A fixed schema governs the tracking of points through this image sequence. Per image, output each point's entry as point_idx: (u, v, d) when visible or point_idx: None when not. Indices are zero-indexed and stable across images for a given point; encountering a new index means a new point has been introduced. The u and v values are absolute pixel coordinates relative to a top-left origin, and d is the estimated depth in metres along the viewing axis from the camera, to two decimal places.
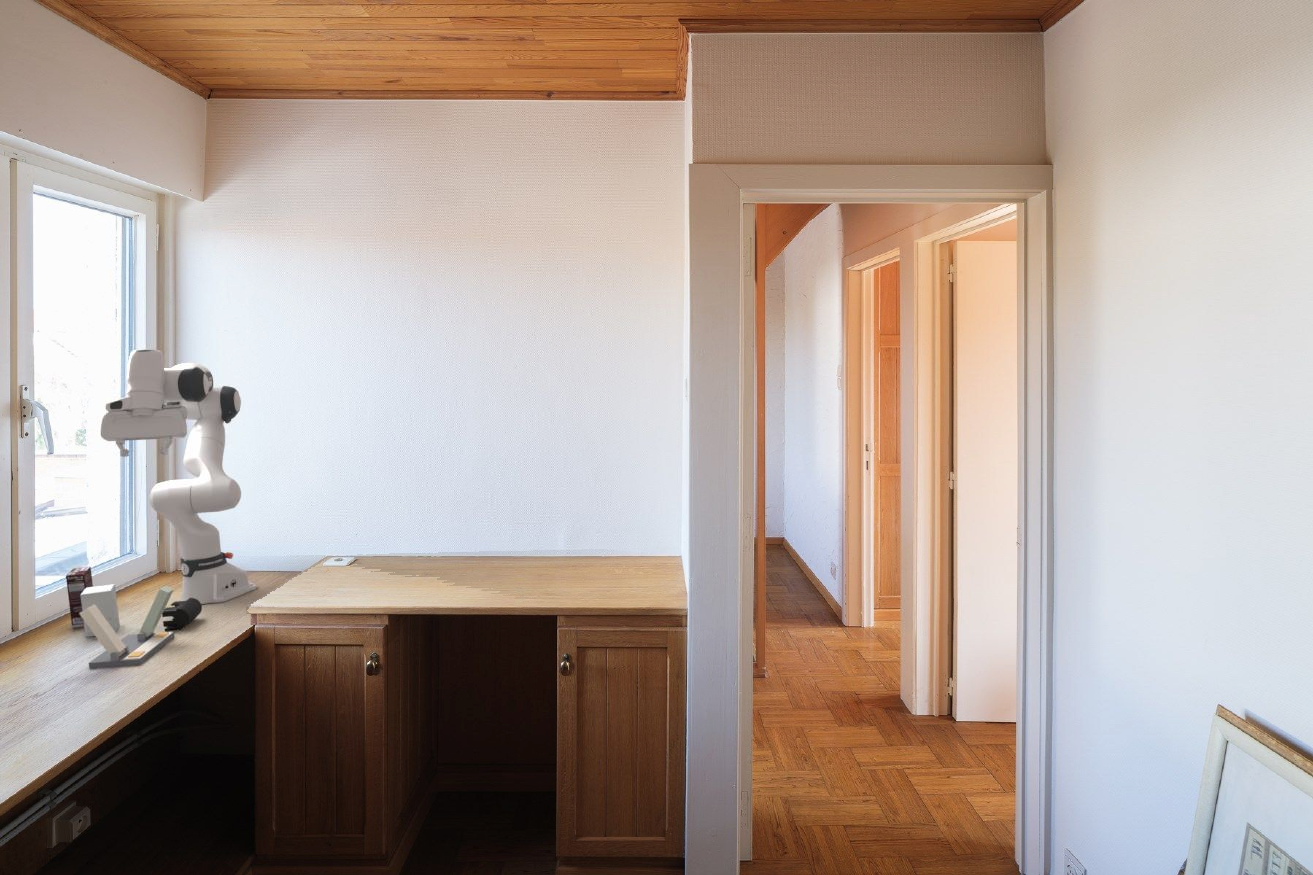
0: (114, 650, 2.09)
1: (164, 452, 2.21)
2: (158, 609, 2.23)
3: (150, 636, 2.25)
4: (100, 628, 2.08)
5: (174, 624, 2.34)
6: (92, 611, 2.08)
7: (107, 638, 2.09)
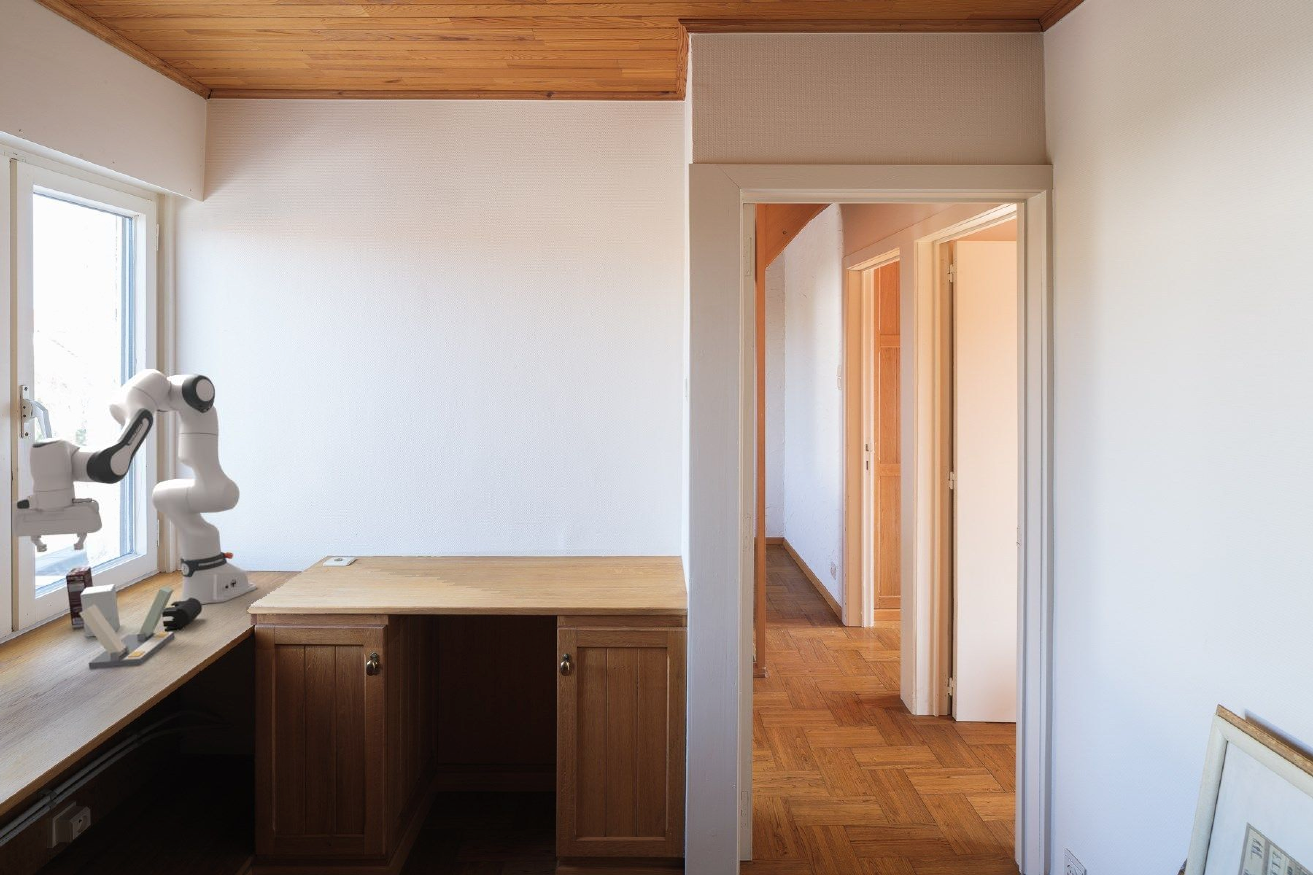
0: (114, 650, 2.09)
1: (79, 548, 2.18)
2: (158, 609, 2.23)
3: (150, 636, 2.25)
4: (100, 628, 2.08)
5: (174, 624, 2.34)
6: (92, 611, 2.08)
7: (107, 638, 2.09)
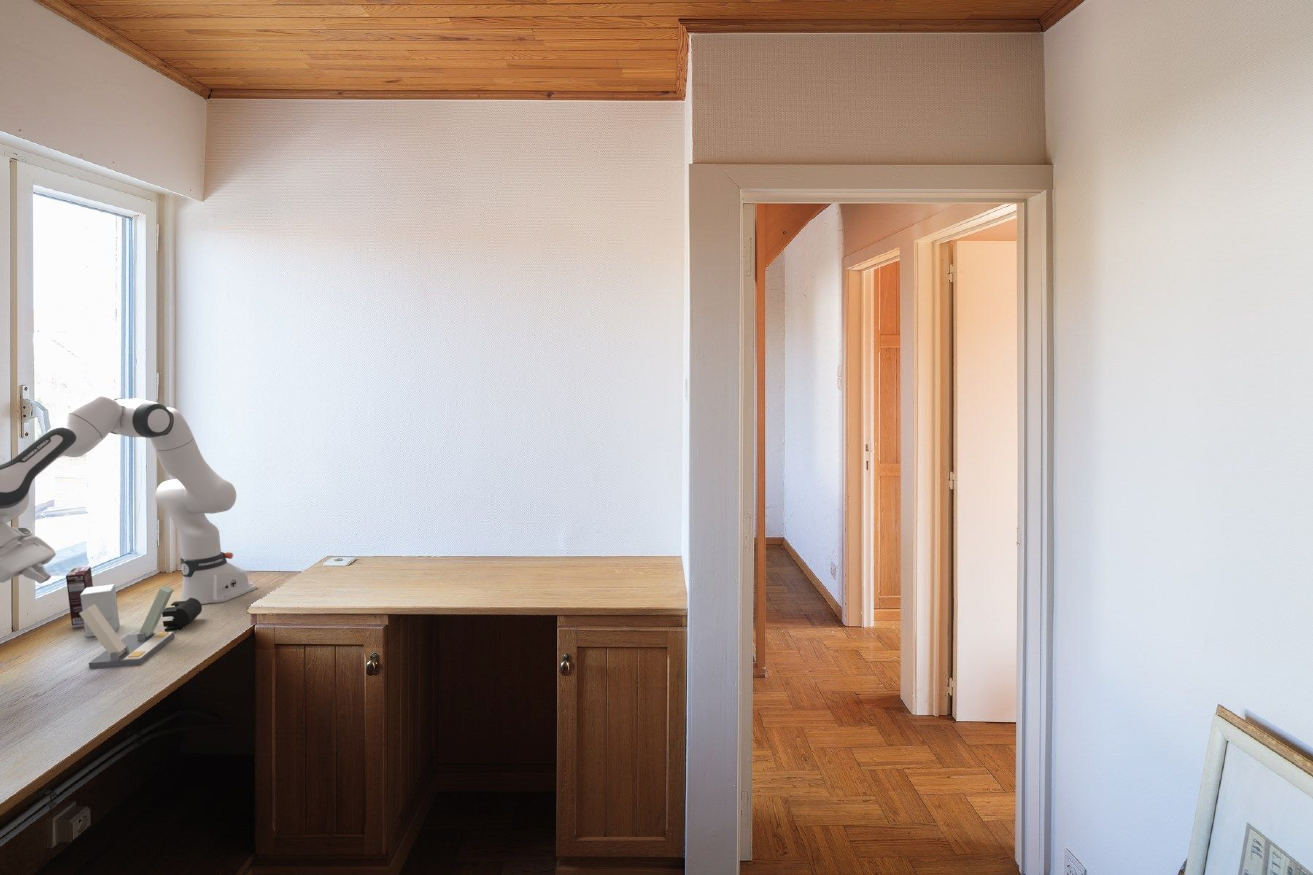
0: (114, 650, 2.09)
1: (40, 582, 2.05)
2: (158, 609, 2.23)
3: (150, 636, 2.25)
4: (100, 628, 2.08)
5: (174, 624, 2.34)
6: (92, 611, 2.08)
7: (107, 638, 2.09)
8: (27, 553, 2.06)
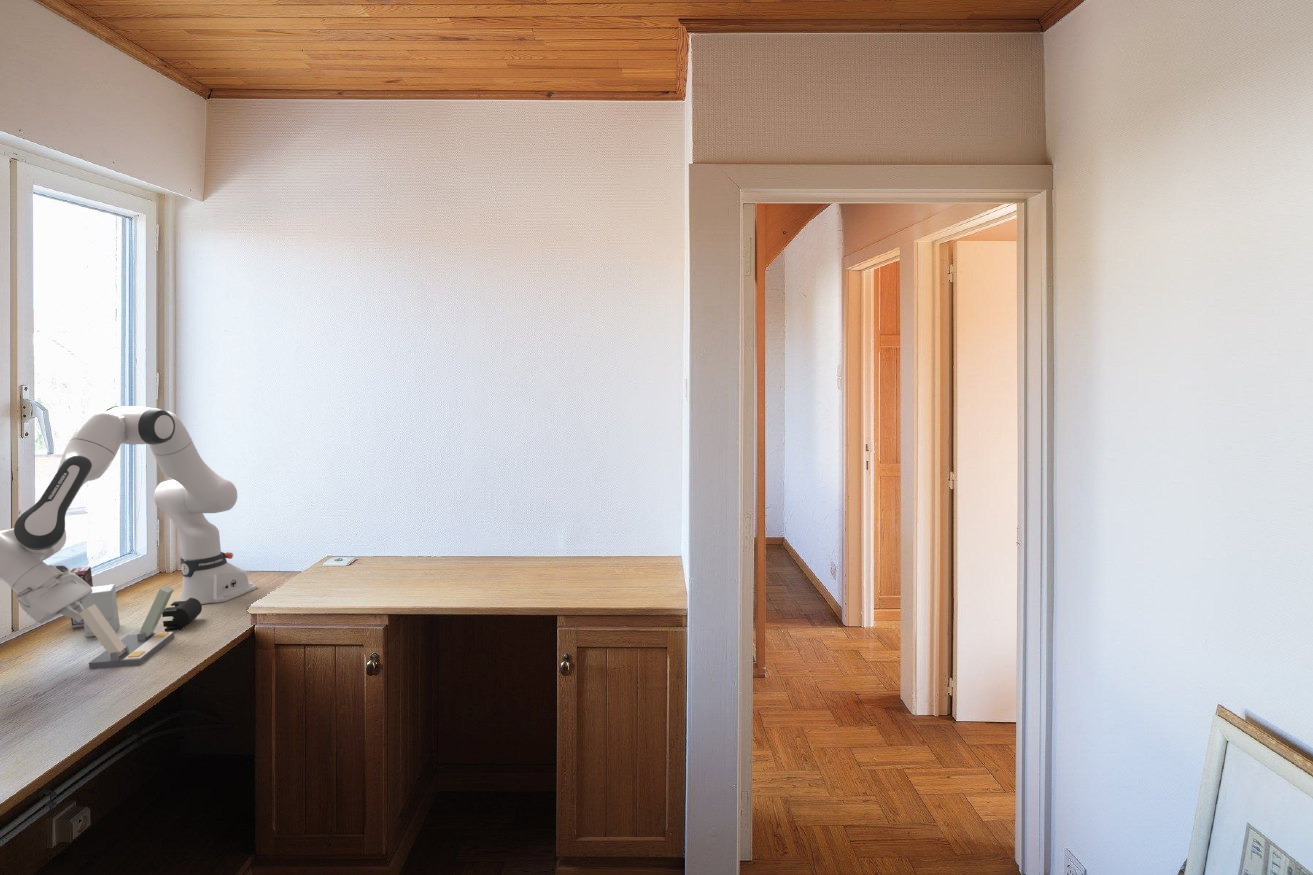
0: (114, 650, 2.09)
1: None
2: (158, 609, 2.23)
3: (150, 636, 2.25)
4: (100, 628, 2.08)
5: (174, 624, 2.34)
6: (92, 611, 2.08)
7: (107, 638, 2.09)
8: (65, 591, 2.09)
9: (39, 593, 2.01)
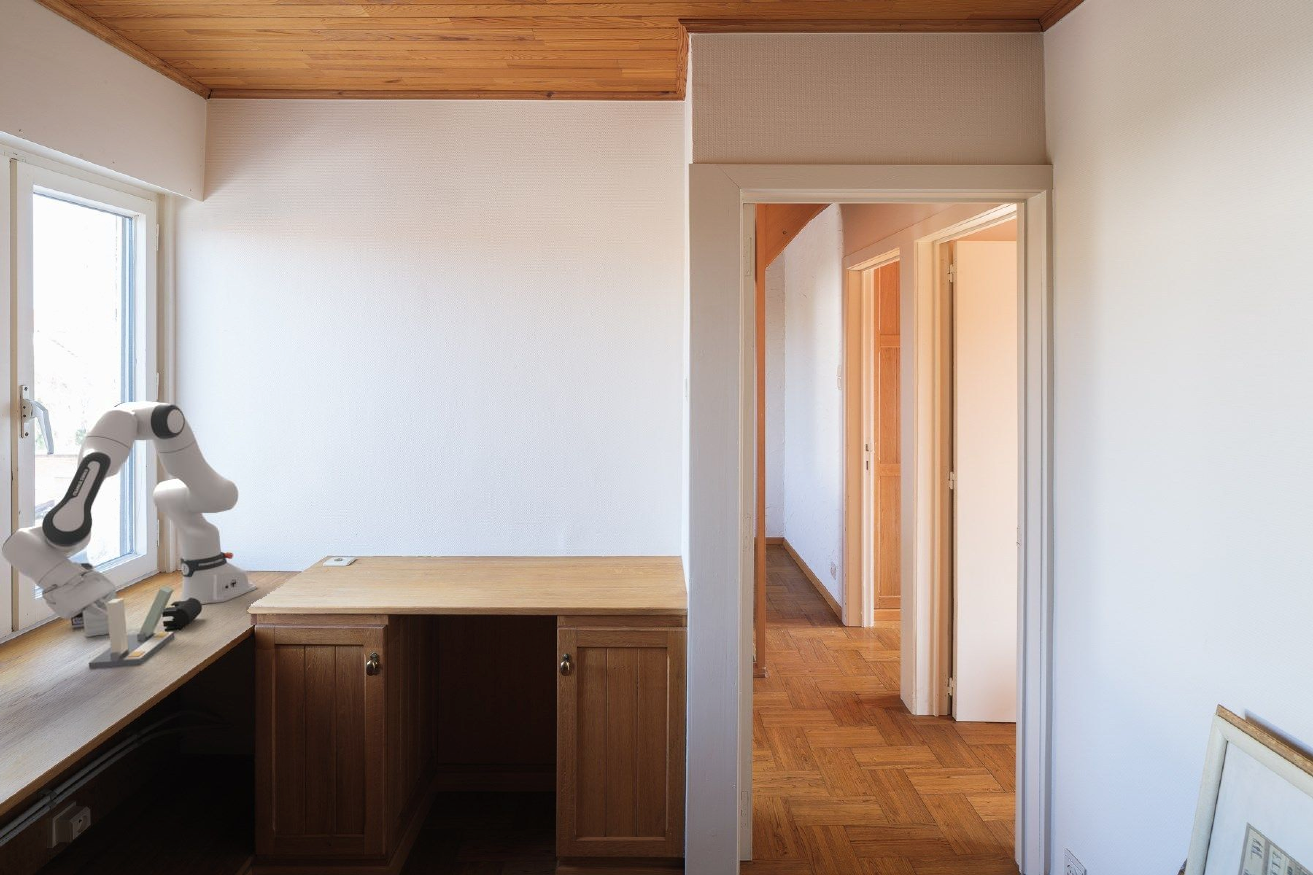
0: (117, 650, 2.09)
1: (102, 618, 2.08)
2: (158, 609, 2.23)
3: (150, 636, 2.25)
4: (117, 625, 2.09)
5: (174, 624, 2.34)
6: (119, 606, 2.09)
7: (117, 637, 2.09)
8: (89, 588, 2.09)
9: (64, 590, 2.02)
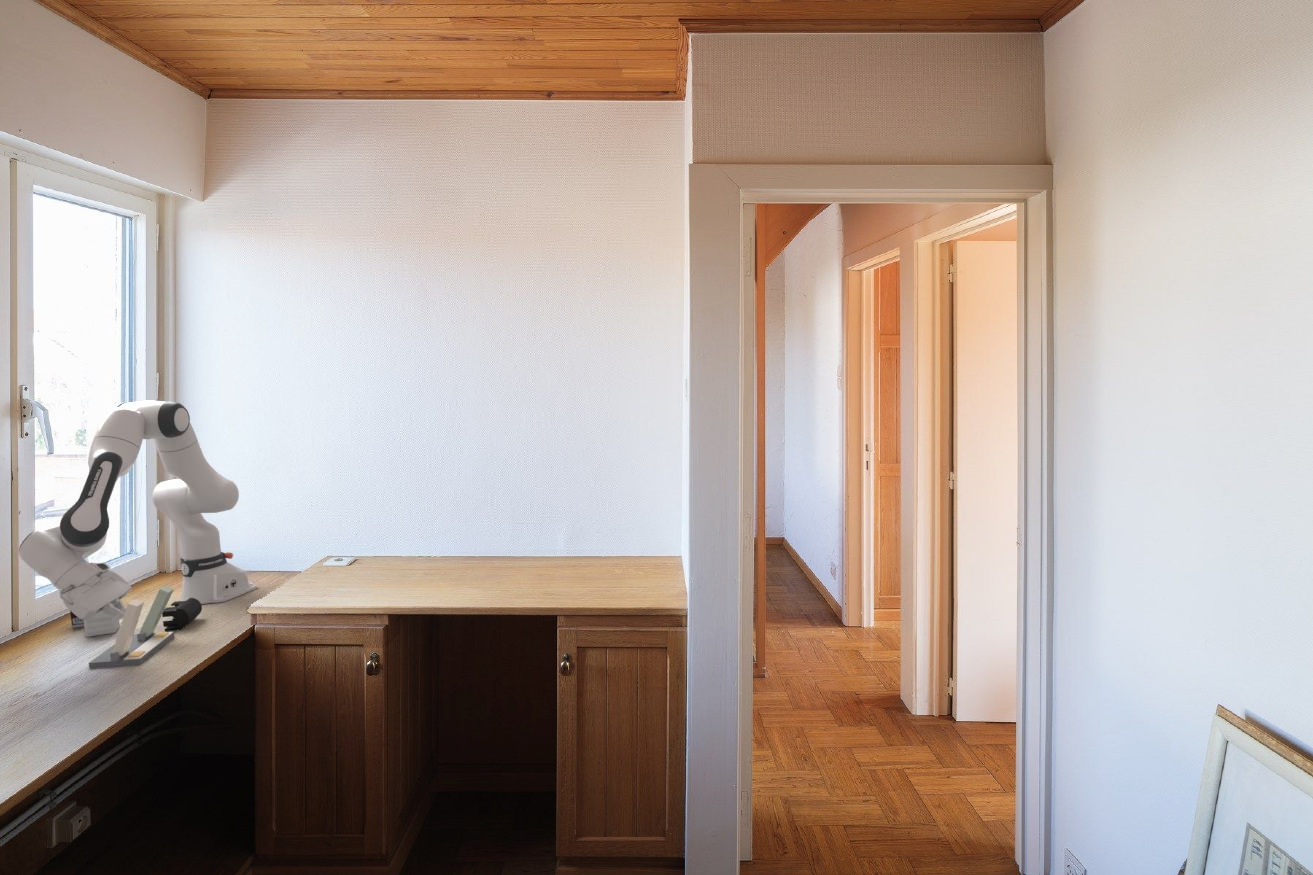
0: (119, 651, 2.09)
1: (119, 618, 2.09)
2: (158, 609, 2.23)
3: (150, 636, 2.25)
4: (129, 627, 2.09)
5: (174, 624, 2.34)
6: (137, 610, 2.10)
7: (124, 638, 2.09)
8: (106, 589, 2.10)
9: (82, 590, 2.02)
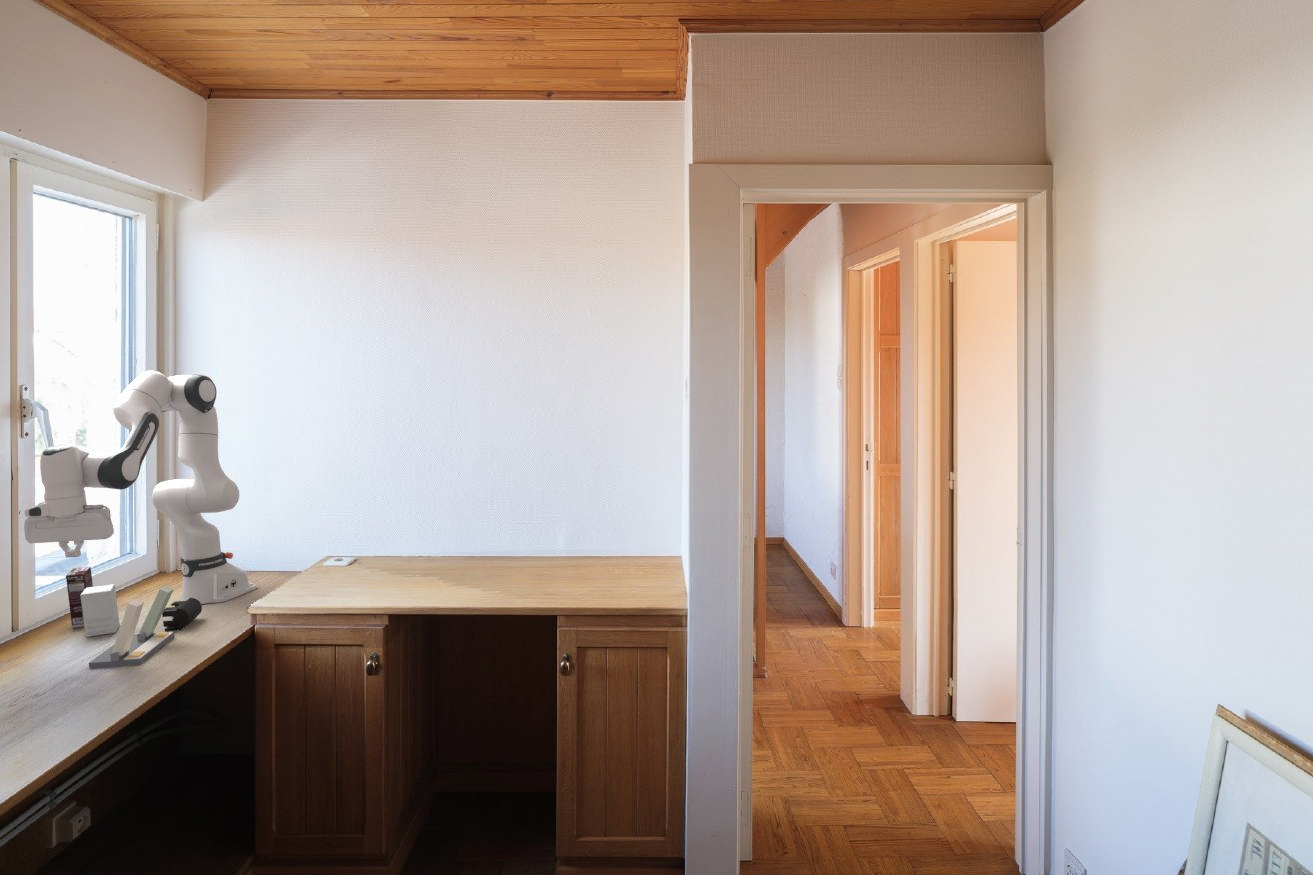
0: (119, 651, 2.09)
1: (76, 555, 2.18)
2: (158, 609, 2.23)
3: (150, 636, 2.25)
4: (129, 627, 2.09)
5: (174, 624, 2.34)
6: (137, 610, 2.10)
7: (124, 638, 2.09)
8: None
9: None
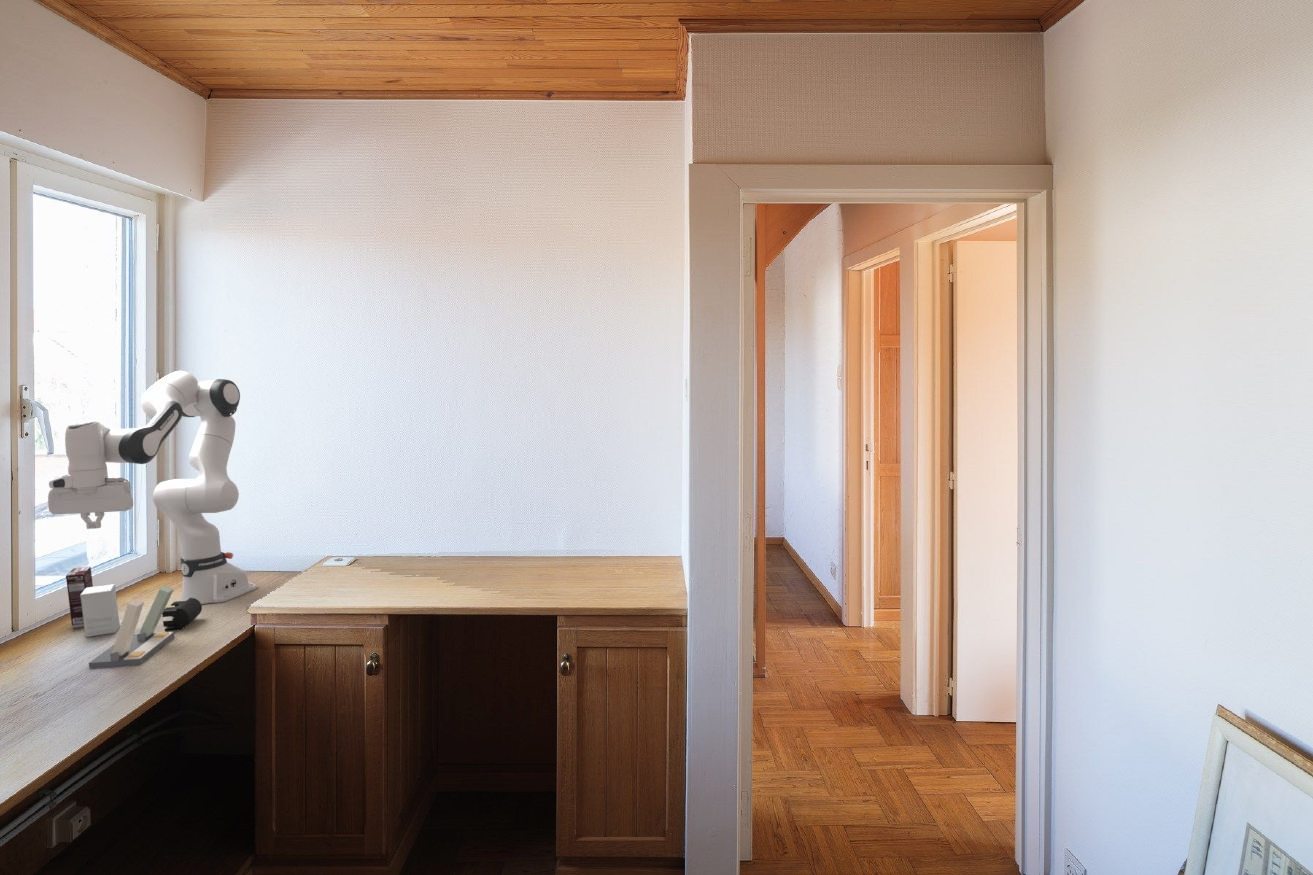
0: (119, 651, 2.09)
1: (97, 527, 2.26)
2: (158, 609, 2.23)
3: (150, 636, 2.25)
4: (129, 627, 2.09)
5: (174, 624, 2.34)
6: (137, 610, 2.10)
7: (124, 638, 2.09)
8: None
9: None
